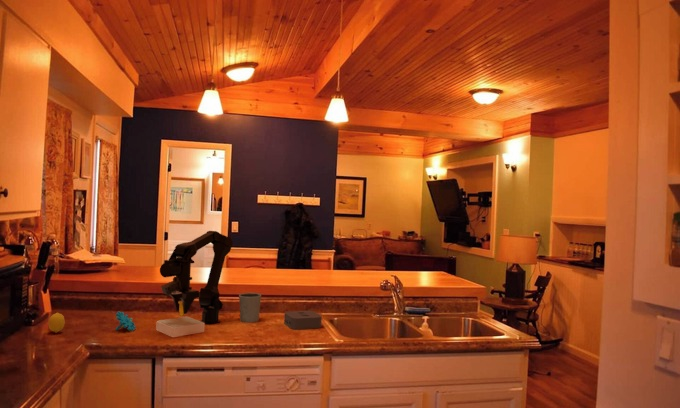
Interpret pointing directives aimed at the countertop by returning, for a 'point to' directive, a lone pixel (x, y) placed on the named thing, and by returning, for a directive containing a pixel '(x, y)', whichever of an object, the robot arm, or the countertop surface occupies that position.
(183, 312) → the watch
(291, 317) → the streaming box
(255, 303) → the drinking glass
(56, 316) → the lemon
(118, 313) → the teal lumpy piece
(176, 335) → the stand
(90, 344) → the countertop surface
